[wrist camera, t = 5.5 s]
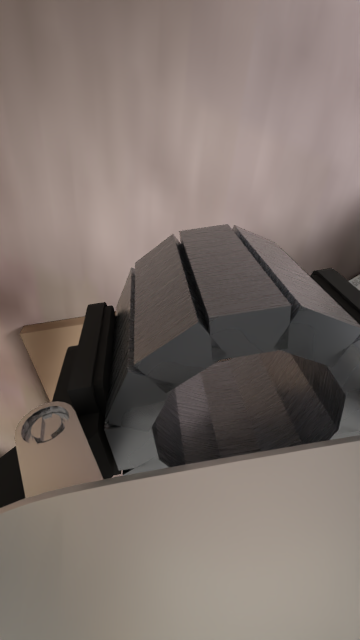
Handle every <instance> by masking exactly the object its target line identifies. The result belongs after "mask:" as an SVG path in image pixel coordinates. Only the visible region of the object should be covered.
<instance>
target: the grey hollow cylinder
mask: <svg viewBox="0 0 360 640" xmlns="http://www.w3.org/2000/svg"><path fill="white" fill-rule="evenodd" d="M179 233H180V241H181V243H180V242H179V241H178V240H177V238H176V237H175V236H174V234H172V235H171V236H170V237H168V238H167V239H166V240H164V241H163V242H162V243H160V244H159V245H158V246H157V247H155V248H154V249H153V250H151V251H150V252H149V253H147V254H146V255H145V256H143V257H142V258H141V259H140V260H138V261H137V262H136V263H135V269H134V268H131V270H130V273H129V276H128V278H127V281H126V283H125V286H124V289H123V291H122V294H121V296H120V299H119V302H118V304H117V309H116V318H115V328H114V338H113V348H112V357H111V367H110V377H109V387H108V397H107V405H106V415H105V428H104V430H105V433H106V436H107V439H108V442H109V445H110V447H111V450H112V453H113V456H114V459H115V461H116V464H117V467H118V470H119V471H120V470H123V476H125V475H130V474H135V473H140V472H146V471H152V470H157V469H163V468H169V467H175V466H180V465H186V464H192V463H198V462H204V461H209V460H215V459H221V458H227V457H232V456H238V455H244V454H250V453H256V452H262V451H268V450H274V449H280V448H285V447H291V446H297V445H303V444H309V443H315V442H321V441H327V440H333V439H339V438H345V437H351V436H357V435H360V324H359V323H358V322H356V321H355V320H354V319H353V318H352V317H351V316H350V315H349V314H348V313H347V312H346V311H345V310H344V309H343V308H342V307H341V306H340V305H339V304H338V303H337V302H336V301H335V300H334V299H333V298H332V297H331V296H330V295H329V294H328V293H327V292H326V291H325V290H324V289H323V288H321V287H320V286H319V285H318V284H317V283H316V282H315V281H314V280H313V279H312V278H311V277H310V276H309V275H308V274H307V273H306V272H305V271H304V270H303V269H302V268H301V267H300V266H299V265H298V264H297V263H296V262H295V261H294V260H293V259H292V258H291V257H290V256H289V255H288V254H287V253H285V252H284V251H283V250H282V249H281V248H280V247H279V246H278V245H277V244H276V243H275V242H273V241H270V240H268V239H266V238H263V237H261V236H259V235H256V234H254V233H252V232H249V231H247V230H245V229H242V228H240V227H238V226H235V225H234V227H233V229H231V228H230V226H229V225H228V224H226V225H219V226H212V227H205V228H198V229H191V230H184V231H179ZM228 358H231V359H230V360H228V361H222V362H217V361H219V360H221V359H228Z"/></svg>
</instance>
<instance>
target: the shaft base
mask: <svg viewBox="0 0 360 640" xmlns="http://www.w3.org/2000/svg"><path fill="white" fill-rule="evenodd" d="M115 316H116V312H115ZM84 319H85V317H78V318H72V319H65V320H59V321H52V322H46V323H40V324H33V325H27V326H24V327H23V329H22V330H21V332H20V336H21V338H22V341H23V343H24V345H25V347H26V349H27V352H28V354H29V356H30V358H31V361H32V363H33V365H34V367H35V369H36V372H37V374H38V376H39V378H40V380H41V383H42V385H43V387H44V389H45V392H46V394H47V396H48V398H49V400H50V402H52V399H53V396H54V393H55V389H56V386H57V382H58V379H59V375H60V372H61V368H62V365H63V361H64V358H65V354H66V351H67V349H68V347H70V346H76V345H78V343H79V339H80V335H81V331H82V327H83V323H84Z"/></svg>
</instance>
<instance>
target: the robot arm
mask: <svg viewBox="0 0 360 640" xmlns="http://www.w3.org/2000/svg"><path fill="white" fill-rule="evenodd" d="M310 277H311V278H312V279H313V280H314V281H315V282H316V283H317V284H318V285H319V286H320V287H321V288H323V289H324V290H325V291H326V292H327V293H328V294H329V295H330V296H331V297H332V298H333V299H334V300H335V301H336V302H337V303H338V304H339V305H340V306H341V307H342V308H343V309H344V310H345V311H346V312H347V313H348V314H349V315H350V316H351V317H352V318H353V319H354V320H355V321H356V322H358V323H359V324H360V290H358V289H357V288H356V287H355V286H353V285H352V284H351V283H350V282H349V281H347V280H346V279H345V278H344V277H342V276H341V275H340V274H339V273H338V272H336V271H335V270H334V269H332V268H329V269H323V270H316V271H314V272H313V273H312V275H311V276H310ZM115 318H116V316H115V312H114V308H113V306H107V304H106V303H105V302H104V303H97V304H90V305H88V307H87V311H86V315H85V319H84V323H83V327H82V331H81V335H80V339H79V343H78V345H76V346H70V347H68V349H67V351H66V354H65V358H64V361H63V365H62V368H61V372H60V375H59V379H58V382H57V386H56V389H55V393H54V396H53V399H52V402H48V403H46V404H43V405H40V406H38V407H36V408H34V409H33V410H31V411H30V412H29V413H27V414H26V415H25V416H24V417H23V418H22V419H21V421H20V422H19V423H18V425H17V427H16V430H15V437H14V439H15V444H16V446H15V447H14V448H13V449H11V450H10V451H9V452H7V453H6V454H5V455H4V456H2V457H1V458H0V640H360V435H357V436H351V437H345V438H339V439H333V440H327V441H321V442H315V443H309V444H303V445H297V446H291V447H285V448H280V449H274V450H268V451H262V452H256V453H250V454H244V455H238V456H232V457H227V458H221V459H215V460H209V461H204V462H198V463H192V464H186V465H180V466H175V467H169V468H163V469H157V470H152V471H146V472H140V473H135V474H130V475H125V476H119V477H114V478H112V477H113V475H118V474H121V470H120V471H119V470H118V467H117V464H116V461H115V459H114V456H113V453H112V450H111V447H110V445H109V442H108V439H107V436H106V433H105V430H104V428H105V415H106V405H107V397H108V387H109V377H110V367H111V357H112V348H113V338H114V328H115Z"/></svg>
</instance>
